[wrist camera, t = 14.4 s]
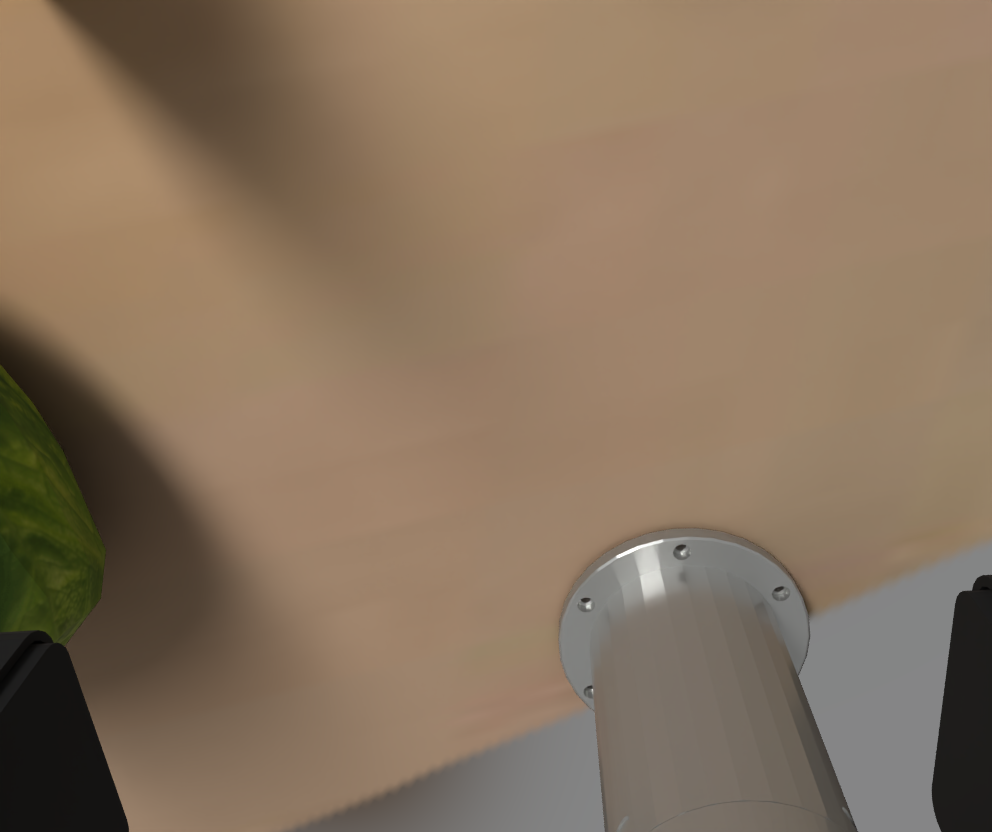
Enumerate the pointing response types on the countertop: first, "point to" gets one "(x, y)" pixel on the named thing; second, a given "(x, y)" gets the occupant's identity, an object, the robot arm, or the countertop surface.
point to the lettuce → (42, 527)
